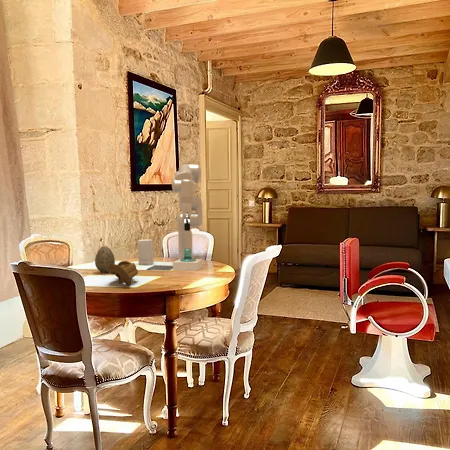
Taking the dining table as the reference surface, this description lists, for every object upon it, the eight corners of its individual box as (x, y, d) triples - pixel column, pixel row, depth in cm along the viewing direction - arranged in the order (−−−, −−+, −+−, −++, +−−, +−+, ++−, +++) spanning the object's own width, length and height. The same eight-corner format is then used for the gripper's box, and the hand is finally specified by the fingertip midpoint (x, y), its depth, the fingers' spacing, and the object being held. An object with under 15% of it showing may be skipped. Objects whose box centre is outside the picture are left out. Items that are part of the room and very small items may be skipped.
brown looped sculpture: (90, 271, 205) (113, 257, 226) (100, 296, 207) (122, 279, 228) (122, 261, 200) (143, 247, 220) (133, 286, 201) (152, 271, 222)
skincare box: (153, 263, 275) (153, 239, 274) (151, 265, 268) (150, 240, 267) (141, 263, 276) (140, 239, 274) (137, 265, 269) (137, 240, 268)
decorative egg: (104, 270, 250) (104, 244, 249) (119, 271, 245) (118, 245, 244) (91, 273, 240) (90, 246, 239) (105, 275, 235) (105, 247, 234)
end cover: (182, 267, 259) (182, 247, 258) (197, 267, 257) (197, 248, 256) (178, 269, 250) (178, 249, 249) (193, 270, 248) (193, 250, 247)
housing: (179, 266, 262) (179, 258, 261) (202, 267, 259) (202, 259, 259) (173, 270, 248) (172, 262, 248) (196, 271, 245) (196, 262, 245)
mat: (154, 266, 265) (154, 265, 264) (176, 266, 262) (176, 265, 262) (146, 270, 251) (146, 269, 251) (169, 270, 248) (169, 269, 248)
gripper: (181, 201, 260) (181, 229, 260) (180, 200, 242) (180, 231, 243) (193, 200, 260) (193, 229, 261) (193, 200, 243) (193, 231, 244)
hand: (187, 230), depth 252 cm, fingers open, 9 cm apart
